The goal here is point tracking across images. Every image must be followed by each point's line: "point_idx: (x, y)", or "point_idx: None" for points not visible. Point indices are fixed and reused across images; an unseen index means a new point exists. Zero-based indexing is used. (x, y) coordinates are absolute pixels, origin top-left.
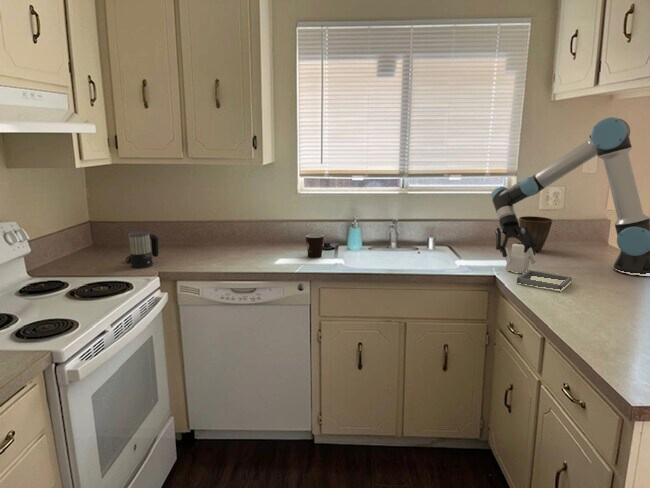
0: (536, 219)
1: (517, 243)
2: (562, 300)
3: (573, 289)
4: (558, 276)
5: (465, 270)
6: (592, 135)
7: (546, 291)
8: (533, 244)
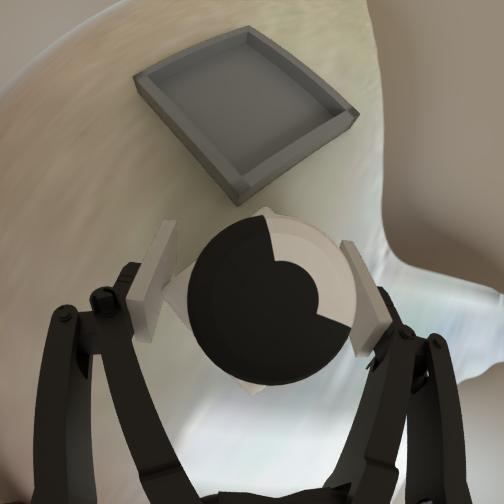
0: None
1: (305, 309)
2: (283, 16)
3: None
4: (164, 96)
5: (452, 342)
6: None
7: None
8: (77, 331)
